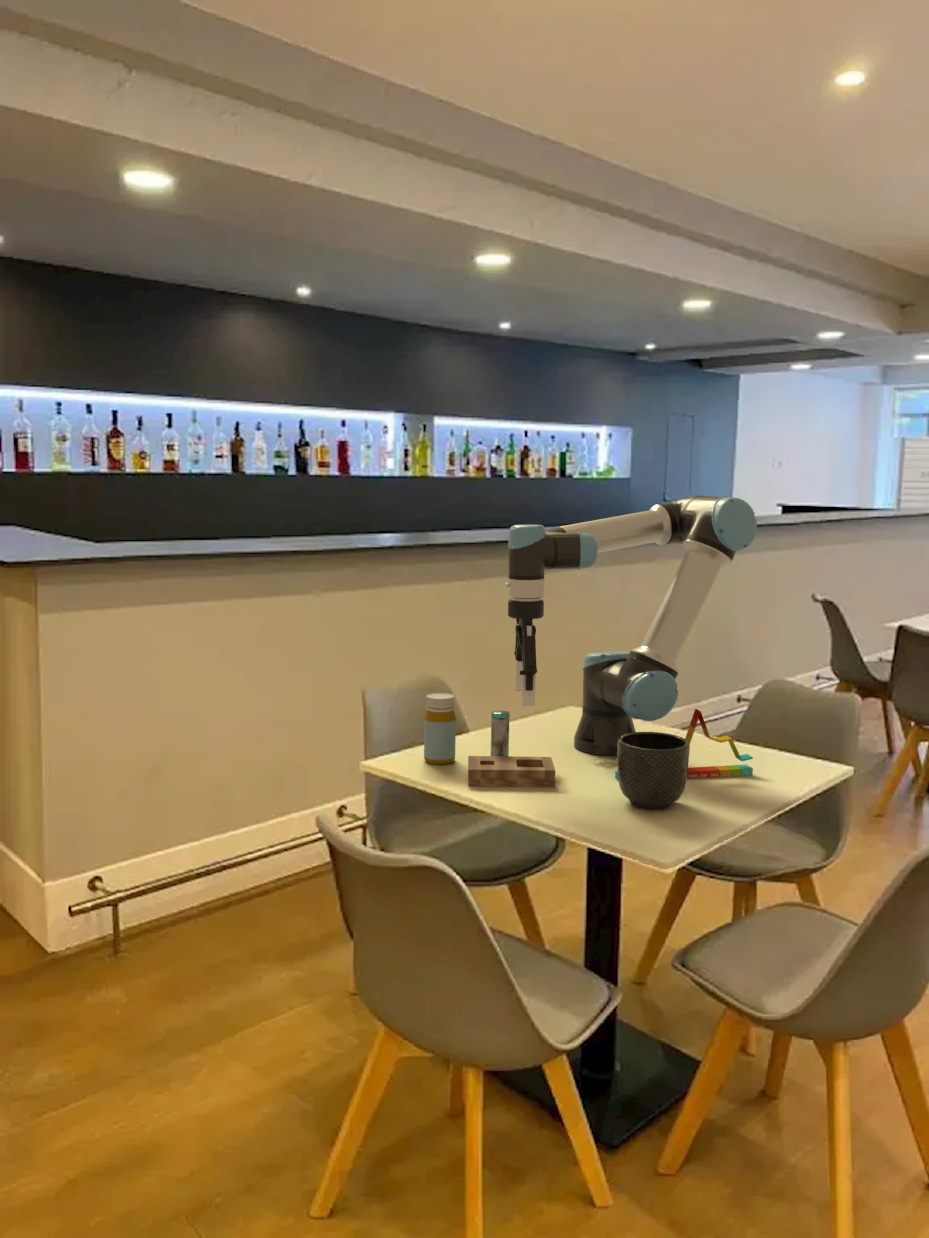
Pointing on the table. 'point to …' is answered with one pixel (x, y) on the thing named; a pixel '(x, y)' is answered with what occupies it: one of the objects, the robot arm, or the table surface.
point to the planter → (652, 768)
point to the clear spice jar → (500, 733)
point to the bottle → (439, 729)
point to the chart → (714, 770)
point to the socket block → (511, 771)
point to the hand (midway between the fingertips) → (524, 697)
